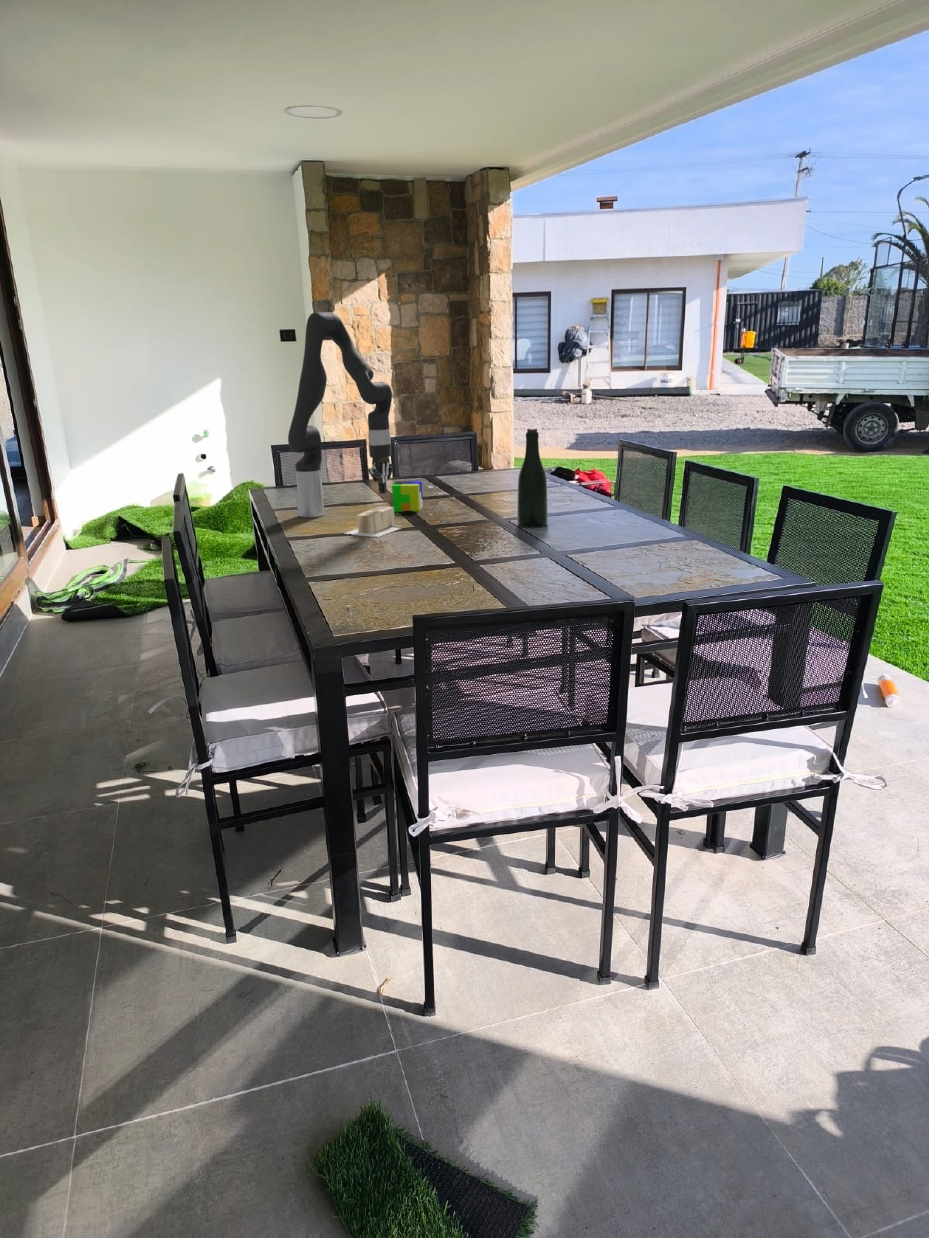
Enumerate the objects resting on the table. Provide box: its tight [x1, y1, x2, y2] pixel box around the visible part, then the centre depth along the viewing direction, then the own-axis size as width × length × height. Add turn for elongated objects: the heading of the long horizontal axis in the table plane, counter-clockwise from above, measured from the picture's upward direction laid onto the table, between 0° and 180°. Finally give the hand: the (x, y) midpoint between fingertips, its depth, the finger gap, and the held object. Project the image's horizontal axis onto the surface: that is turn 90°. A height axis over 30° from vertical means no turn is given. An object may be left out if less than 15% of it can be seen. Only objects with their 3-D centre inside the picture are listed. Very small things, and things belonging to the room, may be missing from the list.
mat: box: [343, 524, 403, 538], centre depth 289 cm, size 14×15×1 cm
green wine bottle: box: [516, 427, 548, 528], centre depth 286 cm, size 10×10×33 cm
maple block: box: [356, 505, 396, 534], centre depth 290 cm, size 6×6×14 cm
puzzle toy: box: [391, 480, 424, 513], centre depth 324 cm, size 10×10×10 cm
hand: (382, 493), depth 291 cm, fingers closed
